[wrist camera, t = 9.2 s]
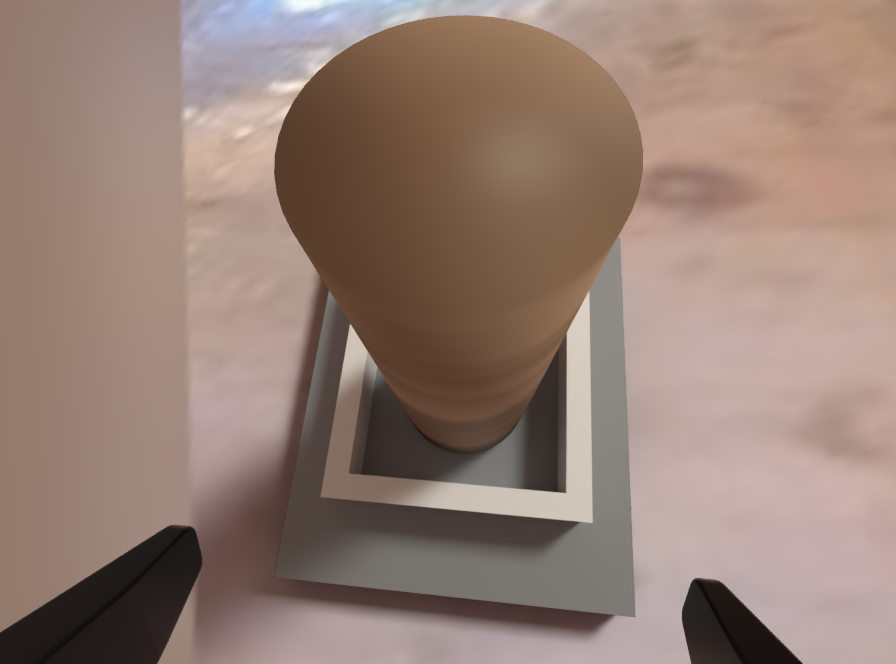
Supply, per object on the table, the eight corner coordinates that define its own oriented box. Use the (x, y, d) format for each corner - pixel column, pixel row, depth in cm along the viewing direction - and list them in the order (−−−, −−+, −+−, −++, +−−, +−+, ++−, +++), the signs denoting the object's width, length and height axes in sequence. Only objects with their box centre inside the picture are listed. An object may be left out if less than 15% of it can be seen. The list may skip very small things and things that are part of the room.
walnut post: (523, 458, 17) (654, 326, 5) (397, 447, 18) (233, 297, 5) (528, 338, 19) (633, 18, 7) (412, 330, 19) (312, 11, 7)
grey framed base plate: (624, 609, 16) (654, 630, 14) (286, 573, 17) (250, 585, 15) (612, 252, 21) (633, 213, 18) (348, 239, 22) (329, 200, 19)
